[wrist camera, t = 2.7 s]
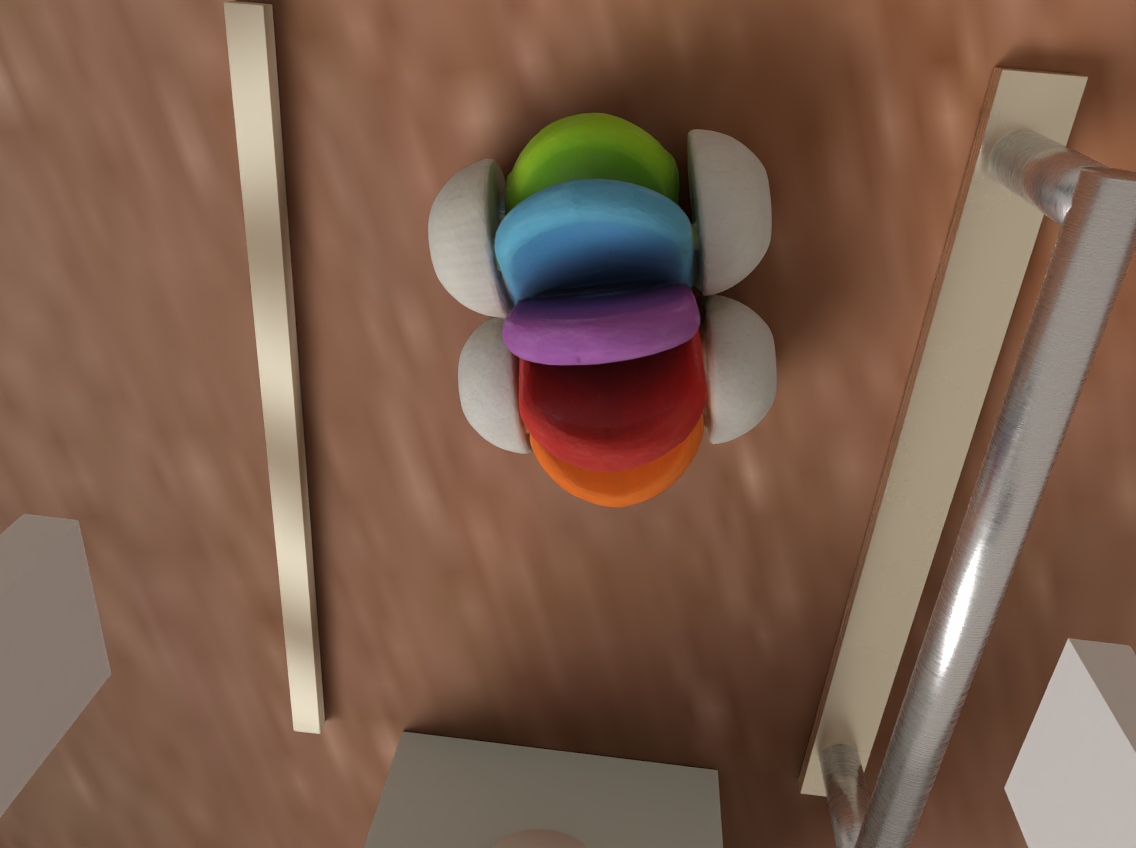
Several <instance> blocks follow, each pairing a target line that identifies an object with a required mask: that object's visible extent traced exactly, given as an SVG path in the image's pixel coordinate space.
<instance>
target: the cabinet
mask: <svg viewBox="0 0 1136 848" xmlns="http://www.w3.org/2000/svg"><path fill="white" fill-rule="evenodd" d="M364 848H723V838H722V824H721V810H720V795H719V781H718V770H712V769H704V768H695V767H687V766H679V765H671V764H663V763H655V762H647V761H639V760H630V759H622V758H614V757H606V756H598V755H590V754H582V753H574V752H565V751H557V750H549V749H541V748H533V747H525V746H517V745H509V744H500V743H492V742H484V741H476V740H468V739H460V738H452V737H444V736H435V735H427V734H419V733H411V732H403V731H402V734H401V737H400V740H399V743H398V746H397V749H396V752H395V755H394V758H393V761H392V764H391V767H390V770H389V774H388V777H387V780H386V783H385V786H384V789H383V792H382V795H381V798H380V801H379V804H378V807H377V810H376V813H375V816H374V819H373V822H372V825H371V828H370V831H369V834H368V837H367V840H366V843H365V846H364Z"/></svg>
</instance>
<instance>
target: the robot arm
mask: <svg viewBox="0 0 1136 848" xmlns="http://www.w3.org/2000/svg"><path fill="white" fill-rule="evenodd" d="M110 675H111V671H110V666H109V662H108V657H107V652H106V647H105V643H104V638H103V633H102V629H101V624H100V619H99V615H98V610H97V605H96V601H95V596H94V591H93V587H92V582H91V577H90V572H89V568H88V563H87V558H86V554H85V549H84V544H83V540H82V535H81V530H80V526H79V521H78V520H71V519H63V518H54V517H46V516H38V515H29V514H23V515H22V516H21V517H20V518H19V519H18V520H16V521H15V522H14V523H13V524H12V525H11V526H9V527H8V528H7V529H6V530H5V531H4V532H3V533H1V534H0V817H1V816H2V814H3V813H4V812H5V811H6V809H7V808H8V807H9V805H10V804H11V803H12V802H13V800H14V799H15V798H16V796H17V795H18V794H19V793H20V791H21V790H22V789H23V787H24V786H25V785H26V783H27V782H28V781H29V780H30V778H31V777H32V776H33V774H34V773H35V772H36V771H37V769H38V768H39V767H40V765H41V764H42V763H43V761H44V760H45V759H46V758H47V756H48V755H49V754H50V752H51V751H52V750H53V749H54V747H55V746H56V745H57V743H58V742H59V741H60V739H61V738H62V737H63V736H64V734H65V733H66V732H67V730H68V729H69V728H70V727H71V725H72V724H73V723H74V721H75V720H76V719H77V718H78V716H79V715H80V714H81V712H82V711H83V710H84V708H85V707H86V706H87V705H88V703H89V702H90V701H91V699H92V698H93V697H94V696H95V694H96V693H97V692H98V690H99V689H100V688H101V686H102V685H103V684H104V683H105V681H106V680H107V679H108V677H109V676H110ZM1004 789H1005V791H1006V794H1007V796H1008V799H1009V801H1010V804H1011V806H1012V808H1013V811H1014V813H1015V816H1016V818H1017V821H1018V823H1019V826H1020V828H1021V831H1022V833H1023V836H1024V838H1025V841H1026V843H1027V845H1028V848H1136V654H1135V653H1134V651H1133V650H1132V648H1131V647H1130V645H1122V644H1113V643H1105V642H1096V641H1088V640H1079V639H1071V638H1068V640H1067V642H1066V644H1065V647H1064V649H1063V652H1062V654H1061V656H1060V659H1059V661H1058V663H1057V666H1056V668H1055V670H1054V673H1053V675H1052V677H1051V680H1050V682H1049V684H1048V687H1047V689H1046V691H1045V694H1044V696H1043V698H1042V701H1041V703H1040V706H1039V708H1038V710H1037V713H1036V715H1035V717H1034V720H1033V722H1032V724H1031V727H1030V729H1029V731H1028V734H1027V736H1026V738H1025V741H1024V743H1023V745H1022V748H1021V750H1020V752H1019V755H1018V757H1017V760H1016V762H1015V764H1014V767H1013V769H1012V771H1011V774H1010V776H1009V778H1008V781H1007V783H1006V785H1005V788H1004Z"/></svg>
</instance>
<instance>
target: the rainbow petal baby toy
mask: <svg viewBox="0 0 1136 848" xmlns="http://www.w3.org/2000/svg"><path fill="white" fill-rule="evenodd" d="M687 160H688V178H689V191H690V203H691V214H692V223H691V224H690V221H689V219H688V217H687V215H686V214H685V213H684V211H683V210H682V209H681V208H680V205H679V172H678V166H677V163H676V161H675V159H674V158H673V156H672V155H671V154H670V153H669V152H667V151H666V150H665V149H664V148H663V147H662V145H661V144H660V143H659V142H658V141H657V140H656V139H655V138H653V137H652V136H651V135H650V134H649V133H647V132H646V131H644V130H643V129H642V128H640V127H638V126H636V125H634V124H633V123H631V122H628V121H626V120H624V119H622V118H619V117H616V116H613V115H609V114H605V113H582V114H577V115H572V116H567V117H564V118H562V119H560V120H557V121H555V122H553V123H551V124H549V125H547V126H546V127H545V128H544V129H542V130H541V131H540V132H539V133H537V134H536V135H535V136H534V137H533V138H532V139H531V140H530V142H529V143H528V144H527V145H526V146H525V148H524V149H523V151H522V152H521V153H520V155H519V157H518V158H517V160H516V162H515V164H514V167H513V169H512V171H511V172H510V173H509V174H508V176H507V181H506V182H505V179H504V175H503V172H502V170H501V168H500V167H499V165H498V163H497V162H496V161H495V160H493V159H490V158H489V159H483V160H480V161H477V162H474V163H472V164H470V165H468V166H466V167H465V168H463V169H461V170H460V171H459V172H457V173H456V174H455V175H454V176H453V177H452V178H451V179H450V180H449V181H448V182H447V183H446V184H445V185H444V187H443V188H442V189H441V191H440V192H439V194H438V195H437V197H436V199H435V201H434V203H433V205H432V208H431V212H430V216H429V224H428V236H429V247H430V253H431V258H432V262H433V266H434V269H435V272H436V274H437V277H438V279H439V280H440V282H441V283H442V285H443V286H444V287H445V289H446V290H447V291H448V292H449V293H450V294H451V295H452V296H453V297H454V298H455V299H456V300H458V301H459V302H460V303H461V304H463V305H464V306H466V307H468V308H469V309H471V310H474V311H476V312H478V313H481V314H484V315H487V316H492V317H491V318H489V319H488V320H486V321H485V322H483V323H482V324H481V325H480V326H479V327H478V328H477V329H476V330H475V331H474V332H473V333H472V334H471V336H470V337H469V339H468V340H467V342H466V343H465V345H464V347H463V349H462V352H461V355H460V359H459V368H458V380H459V394H460V400H461V405H462V409H463V412H464V414H465V416H466V418H467V420H468V421H469V423H470V424H471V425H472V427H473V428H474V429H475V430H476V431H477V432H478V433H479V434H480V435H481V436H482V437H483V438H485V439H486V440H487V441H489V442H490V443H492V444H494V445H495V446H498V447H500V448H502V449H505V450H508V451H512V452H516V453H523V454H525V453H530V452H532V451H534V453H535V455H536V457H537V459H538V461H539V463H540V464H541V465H542V467H543V468H544V470H545V471H546V472H547V473H548V474H549V476H550V477H551V478H552V479H553V480H554V481H555V482H556V483H558V484H559V485H560V486H561V487H562V488H564V489H565V490H566V491H568V492H569V493H571V494H573V495H575V496H577V497H579V498H581V499H583V500H586V501H588V502H591V503H594V504H598V505H602V506H607V507H626V506H630V505H633V504H637V503H640V502H644V501H646V500H648V499H650V498H652V497H654V496H656V495H658V494H660V493H661V492H662V491H664V490H665V489H667V488H668V487H669V486H671V485H672V484H673V483H674V482H675V481H676V480H677V479H678V478H679V477H680V476H681V475H682V474H683V473H684V471H685V470H686V469H687V467H688V466H689V465H690V463H691V462H692V460H693V458H694V457H695V455H696V453H697V451H698V448H699V445H700V442H701V439H702V435H703V428H704V425H705V426H706V430H707V435H708V439H709V441H710V442H711V443H712V444H720V443H724V442H728V441H731V440H733V439H735V438H738V437H740V436H742V435H743V434H745V433H747V432H748V431H749V430H751V429H752V428H754V427H755V426H756V425H757V424H758V423H759V422H760V421H761V420H762V419H763V418H764V416H765V415H766V414H767V413H768V411H769V410H770V408H771V407H772V405H773V402H774V399H775V395H776V387H777V368H776V354H775V346H774V339H773V335H772V333H771V330H770V329H769V327H768V326H767V324H766V323H765V322H764V321H763V319H762V318H761V317H760V316H759V315H758V314H757V313H755V312H754V311H753V310H752V309H750V308H749V307H747V306H746V305H744V304H742V303H740V302H738V301H736V300H733V299H731V298H727V297H724V296H721V295H714V294H717V293H720V292H723V291H725V290H727V289H729V288H731V287H733V286H734V285H736V284H737V283H739V282H740V281H742V280H743V279H744V278H745V277H747V276H748V275H749V274H750V273H751V272H752V271H753V270H754V269H755V267H756V266H757V265H758V264H759V263H760V261H761V260H762V258H763V257H764V255H765V254H766V252H767V249H768V247H769V244H770V241H771V231H772V213H771V197H770V188H769V182H768V176H767V173H766V170H765V168H764V166H763V165H762V163H761V162H760V160H759V159H758V158H757V157H756V155H755V154H754V153H753V152H751V151H750V150H749V149H748V148H747V147H746V146H745V145H744V144H742V143H741V142H739V141H737V140H736V139H734V138H732V137H730V136H728V135H725V134H723V133H719V132H715V131H710V130H701V129H694V130H691V131H689V133H688V136H687ZM692 286H695V287H696V288H698V289H699V290H700V292H701V293H702V294H703V295H704V297H703V298H702V301H701V310H700V313H699V310H698V306H697V303H696V299H695V296H694V293H693V292H692V290H691V287H692ZM699 325H700V326H699Z"/></svg>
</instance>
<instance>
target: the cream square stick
mask: <svg viewBox="0 0 1136 848" xmlns="http://www.w3.org/2000/svg"><path fill="white" fill-rule="evenodd" d="M224 12H225V22H226V32H227V43H228V53H229V63H230V74H231V84H232V94H233V105H234V115H235V126H236V136H237V146H238V157H239V167H240V177H241V188H242V198H243V209H244V219H245V229H246V240H247V250H248V260H249V271H250V281H251V292H252V302H253V312H254V323H255V333H256V343H257V354H258V364H259V374H260V385H261V395H262V406H263V416H264V426H265V437H266V447H267V457H268V468H269V478H270V489H271V499H272V509H273V520H274V530H275V540H276V551H277V561H278V571H279V582H280V592H281V603H282V613H283V623H284V634H285V644H286V654H287V665H288V675H289V686H290V696H291V706H292V717H293V727H294V731H300V732H309V733H317V734H320V732H321V730H322V728H323V726H324V723H325V714H324V701H323V687H322V673H321V660H320V646H319V633H318V619H317V605H316V592H315V578H314V565H313V551H312V538H311V524H310V510H309V497H308V483H307V470H306V456H305V442H304V429H303V415H302V402H301V388H300V374H299V361H298V347H297V334H296V320H295V306H294V293H293V279H292V266H291V252H290V239H289V225H288V211H287V198H286V184H285V171H284V157H283V143H282V130H281V116H280V103H279V89H278V75H277V62H276V48H275V35H274V21H273V8H272V4H263V3H252V2H240V1H229V2H224Z"/></svg>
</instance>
